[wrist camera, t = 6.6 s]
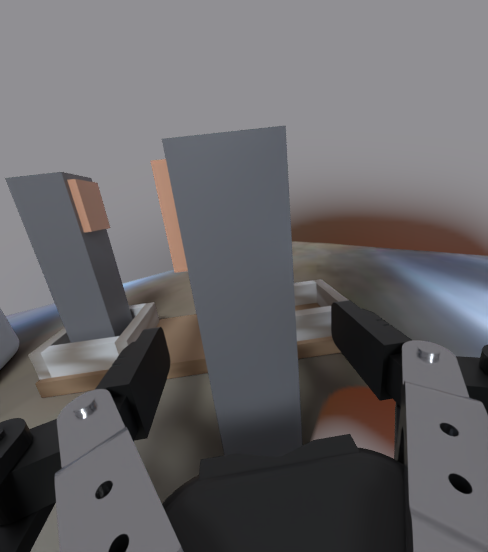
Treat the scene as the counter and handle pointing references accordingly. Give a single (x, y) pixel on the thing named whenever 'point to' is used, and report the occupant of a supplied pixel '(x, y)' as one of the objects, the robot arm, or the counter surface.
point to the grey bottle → (7, 340)
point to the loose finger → (238, 277)
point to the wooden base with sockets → (171, 343)
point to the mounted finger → (74, 252)
